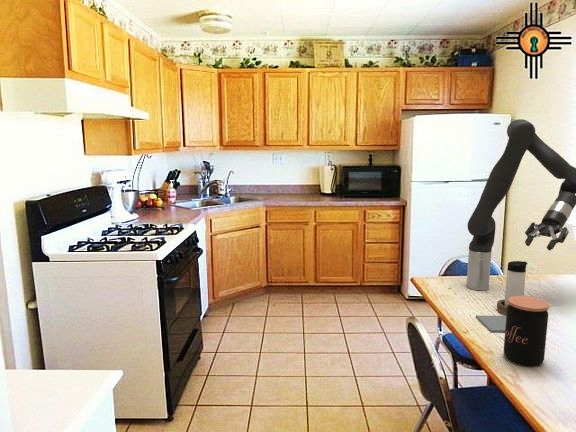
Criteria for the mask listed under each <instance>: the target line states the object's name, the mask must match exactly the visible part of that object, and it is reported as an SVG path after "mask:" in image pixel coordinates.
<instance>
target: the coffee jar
mask: <svg viewBox="0 0 576 432" xmlns="http://www.w3.org/2000/svg"><path fill="white" fill-rule="evenodd" d="M508 303H509V305H508V306H507V314H506V327H505V333H504V338H503V339H504V340H503V341H504V342H503V355H504V356H505V358H506V359H507V360H508V361H509V362H511V363H513V364H515V365H518V366H522V367H527V368H534V367H535V368H536V367H539V366H540V365H541V364H542V363H544V361H545V353H546V345H547V344H546V343H547V334H548V323H549V312H548V310H549V309H550V304H549V303H548V302H547V301H546V300H543V299H541V298H537V297H533V296H527V295H524V296H512V297H509V298H508Z"/></svg>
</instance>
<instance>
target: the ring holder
mask: <svg viewBox="0 0 576 432" xmlns="http://www.w3.org/2000/svg"><path fill="white" fill-rule="evenodd" d="M504 303H505V298H504V299H500V300H497V303H496V312H497V313H499V314H500V315H502V316H506V314H507V307H506V306H504Z"/></svg>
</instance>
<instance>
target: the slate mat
mask: <svg viewBox="0 0 576 432" xmlns="http://www.w3.org/2000/svg"><path fill="white" fill-rule="evenodd" d="M475 319H476V320H477V321H479V323H480V324H481V325H482V326H484V328H486V329H487V331H489V332H490V333H491V334H492V333H502V334H503V333H504V334H505V327H506V316H505V315H475Z"/></svg>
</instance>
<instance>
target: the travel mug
mask: <svg viewBox="0 0 576 432" xmlns="http://www.w3.org/2000/svg"><path fill="white" fill-rule="evenodd" d="M527 265H528V262H527V261H521V260H513V261H509V262H507V269H506V270H507V271H506V277H505V278H506V279H505V291H504V299H505V303H504V306H506V307H507V306H508V305H509V303H508V298H509V297H512V296H525V286H526V283H525V282H526V273H527Z"/></svg>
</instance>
